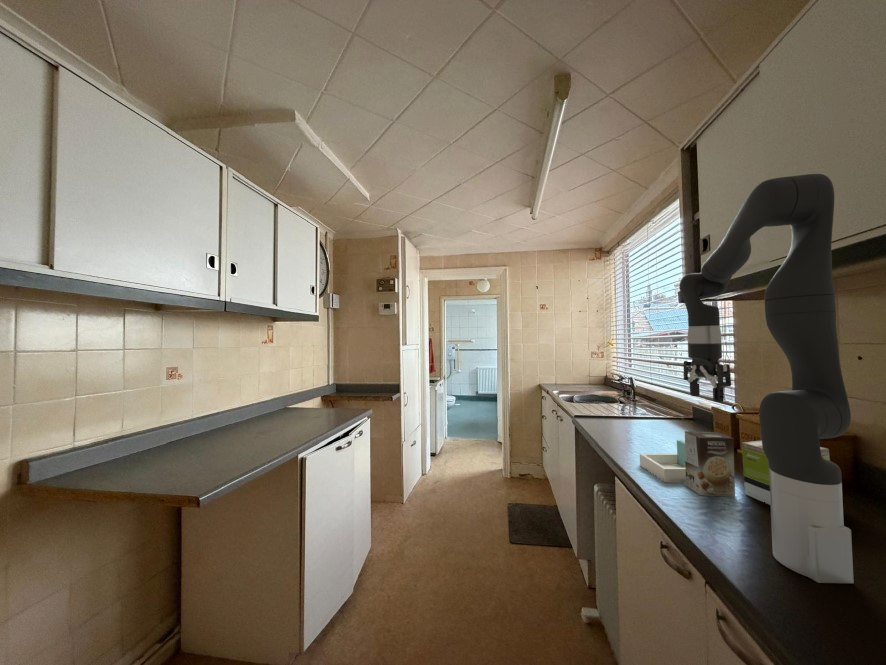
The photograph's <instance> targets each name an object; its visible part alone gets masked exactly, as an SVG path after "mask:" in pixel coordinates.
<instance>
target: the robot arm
mask: <svg viewBox="0 0 886 665" xmlns="http://www.w3.org/2000/svg"><path fill="white" fill-rule="evenodd" d="M834 212H835V188H834V185H833V182H832V180H831V179H830V178H829V177H828V176H827V175H825V174H822V173H810V174H808V173H807V174H800V175H791V176H783V177H774V178H770V179H767V180H764V181H762V182H761V183H758V185H757V186H755V187H754V188H753V190H751V192H750V193H749V194H748V196H747V197H746V198H745V200H744V202H743V204H742V205H741V207H740V208H739V211H738V212H737V214H736V216H735V218H734V219H733V221H732V223H731V225H730V226H729V229H728V230H727V232H726V233H725V235H724V237H723V239H722V241H721V242H720V243H719V245H718V247H717V248H716V249H715V250H714V251H713V252H712V253H711V255H709V257H707V259H706V260H705V261H704V262H703V264H702V266H701V267H700V272H694V273H693V272H692V273H688V274H687V273H686V274H685V275H683V277H682V278H681V279H680V282H679V285H678V286H679V291H680V294H681V298H682V299H683V303H684V305H685V308H686V311H687V326H688V327H687V328H688V330H687V356H688V358H690V359H692V360H684V361H683V380H684V381H687V382H688V384H689V394H690V396H692V397H699V396H700V390H701V389H700V381H701V379H704V378H705V379H706V380H707V381H708V382H709V383H711V386H712V401H713V402H716V403H722V402H723V401H724V400H725V388H728V387H731V386H732V378H731V367H730V364H729V363H720V362H719V360H720V359H722V358H723V347H722V346H723V343H722V331H721V326H720V325H721V324H720V322H721V321H720V309H719V307H718V306H716V305H711V304H706V303H704V302H703V301H702V300H701V298H712V297H713V298H715V297H719V296H720V295H722V294H724V293H725V292H726V290H727V289H728V286H729V283H730V281H731V280H732V277H733V276H734V275H735V274H736V273H737V272H738V271H739V270H740V269H741V268H742V267H744V265H745V264H746V263H747V262H748V261H749V259H750V257H751V253H752V244H751V237H752V236H753V235H755V234H756V233H757V232H758V231H759V230H762V229H763V228H764V227H765V228H766V227H781V226H790V230H791V241H790V242H791V243H790V249H789V252H788V254H787V255H786V258H785V260H784V261H783V263H781V265H780V267H779V268H778V269H777V271H776V272H775V274H774V275H773V276H772V278H771V279H770V281H769V282H768V284H767V286H766V288H765V291H764V295H763V296H764V298H763V300H764V314H765V322H766V323H765V324H766V327H767V329H768V330H769V332H770V334H771V336H772V338H773V339H774V340H775V341H776V343H777V345H778V346H779V347H780V349H781V351H782V352H783V353H784V355H785V356H786V358H787V361H788V363H789V367H790V373H791V383H792V384H791V390H779V391H773V392H770V393H767V394H766V395H765V396H764V397H763V398H762V399H761V401H760V404H759V409H758V411H759V412H758V417H759V418H758V419H759V428H760V437H761V439H760V440H762V447H763V451H764V453H765V455H766V457H767V459H768V462H769V477H770V502H771V505H770V519H771V520H770V523H771V542H772V556H773V557H774V558H775V560H776V561H777V562H779V563H780V564H781V565H783V566H784V567H786V568H788V569H789V570H791V571H793V572H795V573H797V574H799V575H802V576H805V577H806V578H807V577H808V578H809V579H811V580H813V581H815V582H816V583H818V584H854V583H855V582H854V566H853V565H854V563H853V546H852V545H853V544H852V543H853V542H852V541H853V540H852V529H850V528H849V527H847V526H845V524H844V506H843V505H844V504H843V501H844V500H843V483H842V482H843V481H842V479H843V478H842V470H841V468H840V466H839V465H838V464H837V463H835V462H833V461H831V460H830V461H829V460H826V459H823V457H822V455H821V450H820V447H821V443H820V440H824V439H825V440H828V439H833V438H835V439H836V438H837V437H840V436H842V435H843V434H845V433H846V432H847V431H848V429H850V426H851V421H852V420H851V418H852V417H851V416H852V415H851V408H850V404H849V403H850V402H849V399H848V395H847V394H848V393H847V389H846V385H845V381H844V377H843V373H842V369H841V363H840V362H841V361H840V351H839V350H840V349H839V340H838V338H839V337H838V332H837V330H838V329H837V306H836V305H837V304H836V294H835V286H834V280H833V278H834V277H833V261H832V260H833V256H832V255H833V254H832V240H833V238H832V237H833V228H834V227H833V225H834V215H835V213H834ZM724 380H725V381H724Z"/></svg>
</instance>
